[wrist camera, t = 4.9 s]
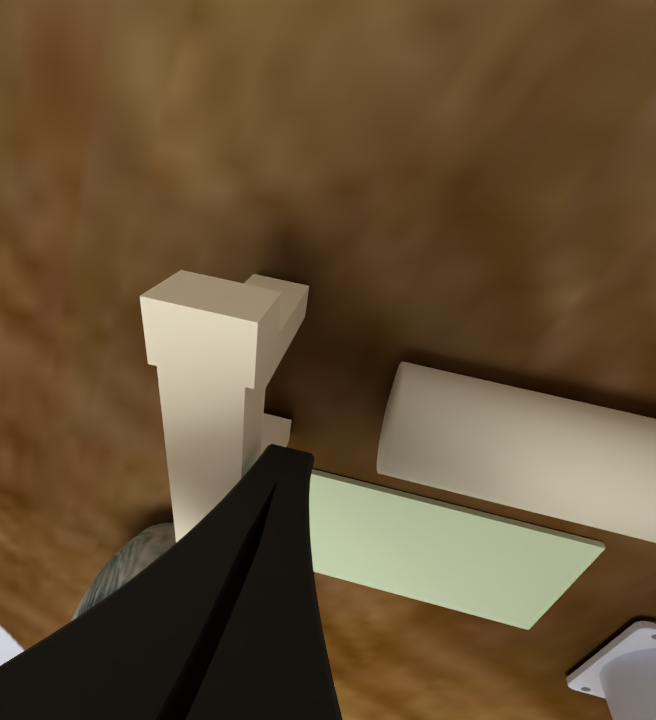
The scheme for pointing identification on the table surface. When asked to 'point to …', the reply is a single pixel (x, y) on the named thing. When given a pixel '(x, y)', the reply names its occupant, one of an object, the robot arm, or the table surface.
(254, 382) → the cream flat notched block
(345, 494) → the mat
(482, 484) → the cylinder
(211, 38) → the table surface
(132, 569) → the mottled grey-green ovoid
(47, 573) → the table surface
